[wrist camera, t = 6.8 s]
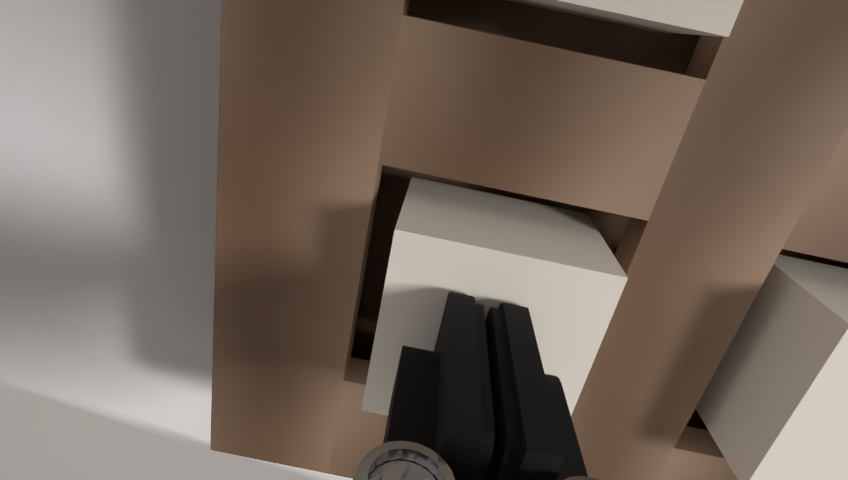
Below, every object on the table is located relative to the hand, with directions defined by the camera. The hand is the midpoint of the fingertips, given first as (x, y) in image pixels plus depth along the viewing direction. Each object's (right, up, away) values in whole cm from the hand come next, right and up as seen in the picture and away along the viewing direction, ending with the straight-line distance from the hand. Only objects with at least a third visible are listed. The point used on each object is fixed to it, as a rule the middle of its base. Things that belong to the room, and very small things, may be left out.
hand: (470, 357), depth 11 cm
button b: (+1, +2, +3) cm, 4 cm away
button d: (+9, 0, +3) cm, 10 cm away
